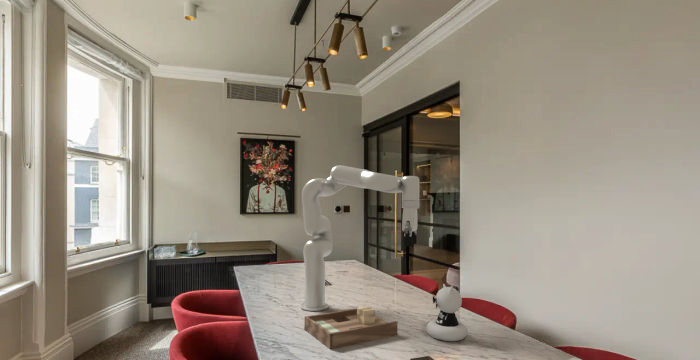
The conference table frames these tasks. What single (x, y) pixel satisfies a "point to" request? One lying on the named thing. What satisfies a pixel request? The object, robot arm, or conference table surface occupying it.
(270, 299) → the conference table surface
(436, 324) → the decorative figurine
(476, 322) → the conference table surface
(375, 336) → the box
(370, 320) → the maple block
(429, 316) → the conference table surface
